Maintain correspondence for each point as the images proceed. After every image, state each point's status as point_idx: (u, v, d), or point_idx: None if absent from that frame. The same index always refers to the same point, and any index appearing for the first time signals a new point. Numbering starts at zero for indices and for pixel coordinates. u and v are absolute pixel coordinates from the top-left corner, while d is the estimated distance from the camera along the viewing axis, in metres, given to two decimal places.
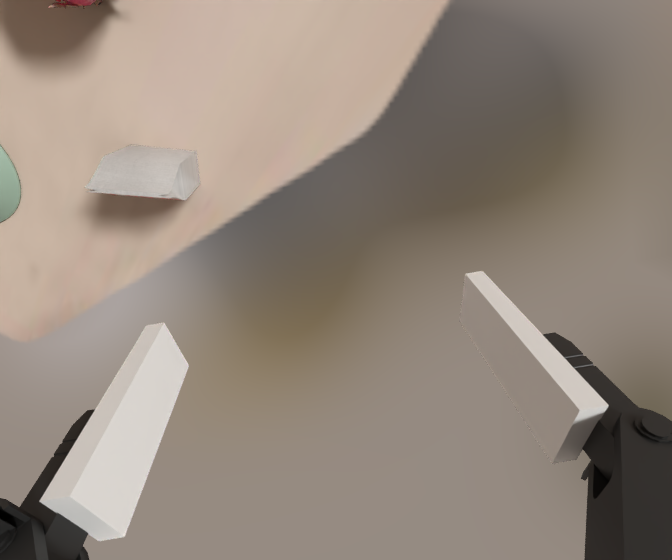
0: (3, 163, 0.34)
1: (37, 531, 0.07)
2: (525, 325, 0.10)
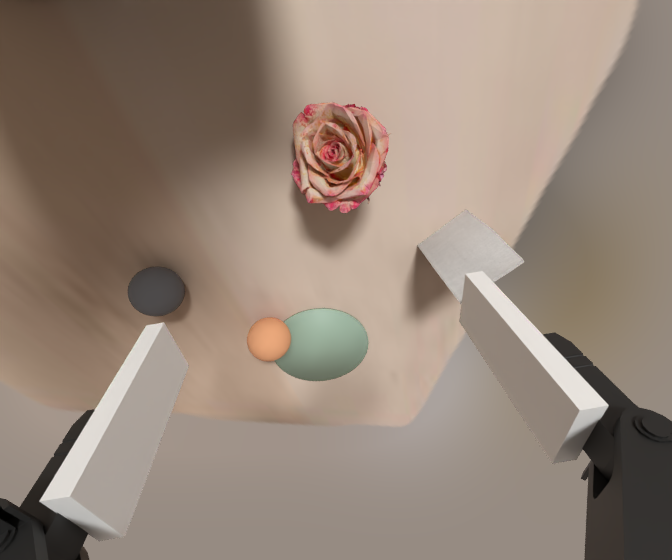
0: (350, 321, 0.43)
1: (37, 531, 0.07)
2: (526, 325, 0.10)
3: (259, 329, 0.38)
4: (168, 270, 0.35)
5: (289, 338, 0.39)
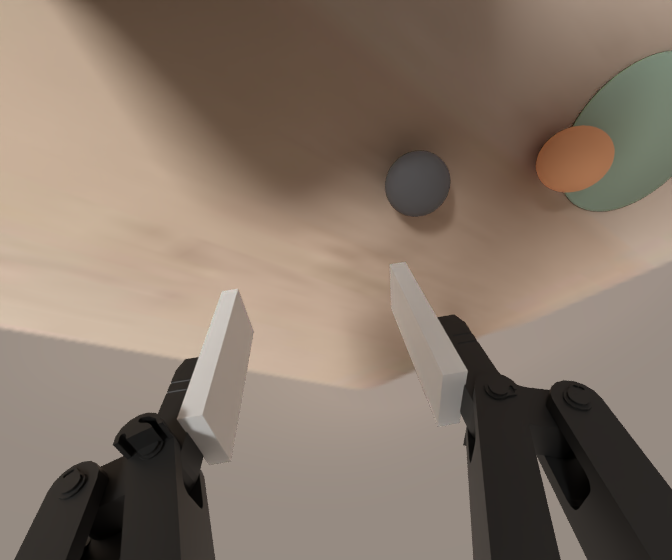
0: None
1: (177, 449, 0.09)
2: (425, 307, 0.12)
3: (561, 147, 0.26)
4: (414, 151, 0.27)
5: (606, 134, 0.26)
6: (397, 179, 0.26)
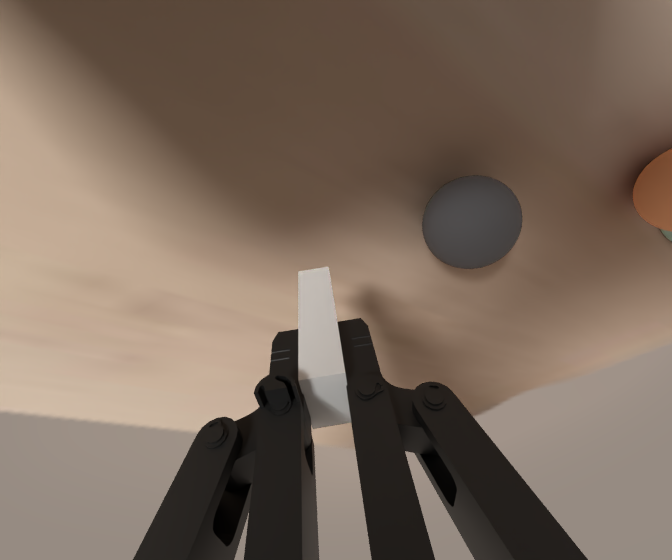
0: None
1: (301, 414, 0.09)
2: (329, 311, 0.12)
3: None
4: (467, 176, 0.18)
5: None
6: (445, 220, 0.17)
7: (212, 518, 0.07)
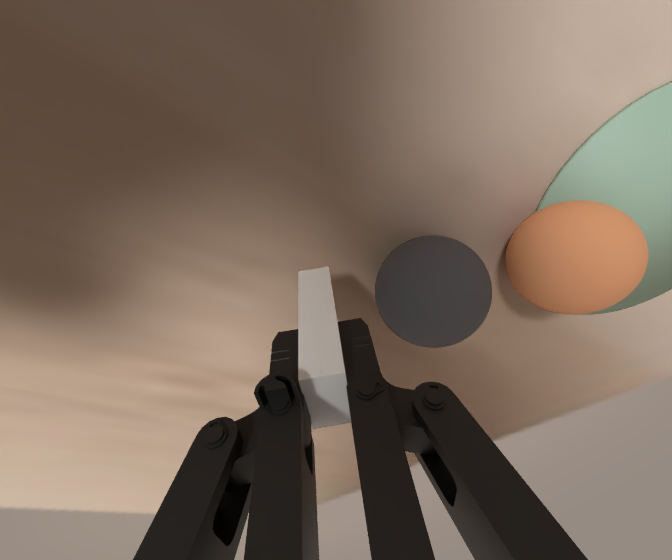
0: None
1: (301, 414, 0.09)
2: (329, 311, 0.12)
3: (576, 252, 0.13)
4: (441, 256, 0.13)
5: None
6: None
7: (212, 518, 0.07)
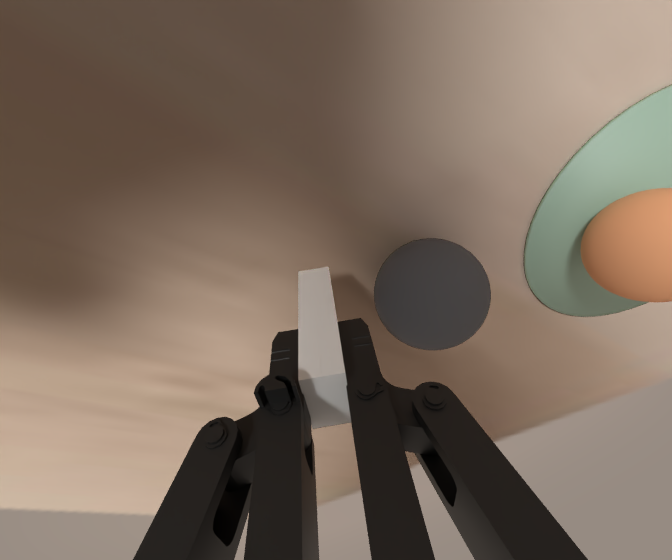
0: None
1: (301, 414, 0.09)
2: (329, 311, 0.12)
3: None
4: (440, 259, 0.13)
5: None
6: None
7: (212, 518, 0.07)
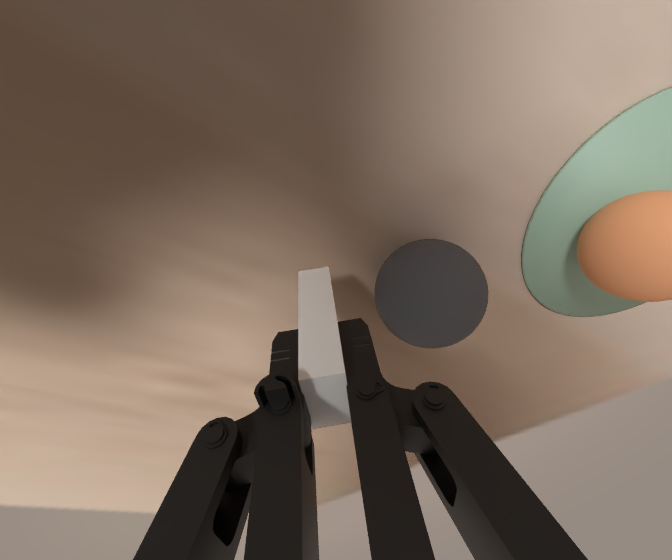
0: None
1: (301, 414, 0.09)
2: (329, 311, 0.12)
3: None
4: (438, 259, 0.14)
5: (624, 197, 0.16)
6: None
7: (212, 518, 0.07)
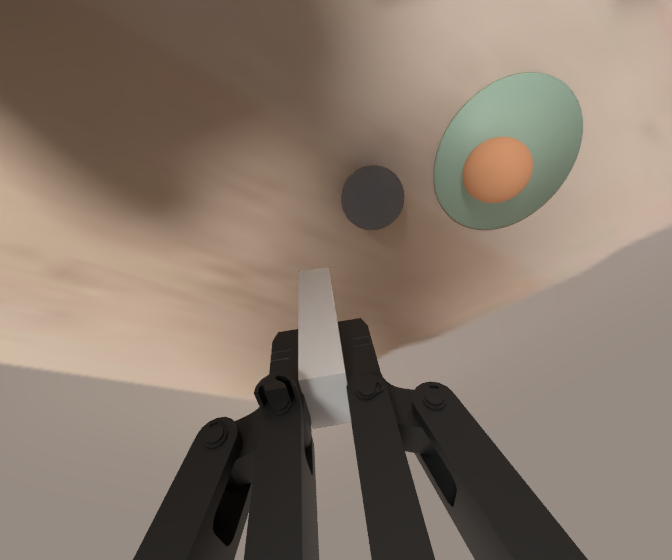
0: (530, 83, 0.26)
1: (301, 414, 0.09)
2: (329, 311, 0.12)
3: (529, 152, 0.25)
4: (373, 172, 0.25)
5: None
6: None
7: (212, 518, 0.07)
